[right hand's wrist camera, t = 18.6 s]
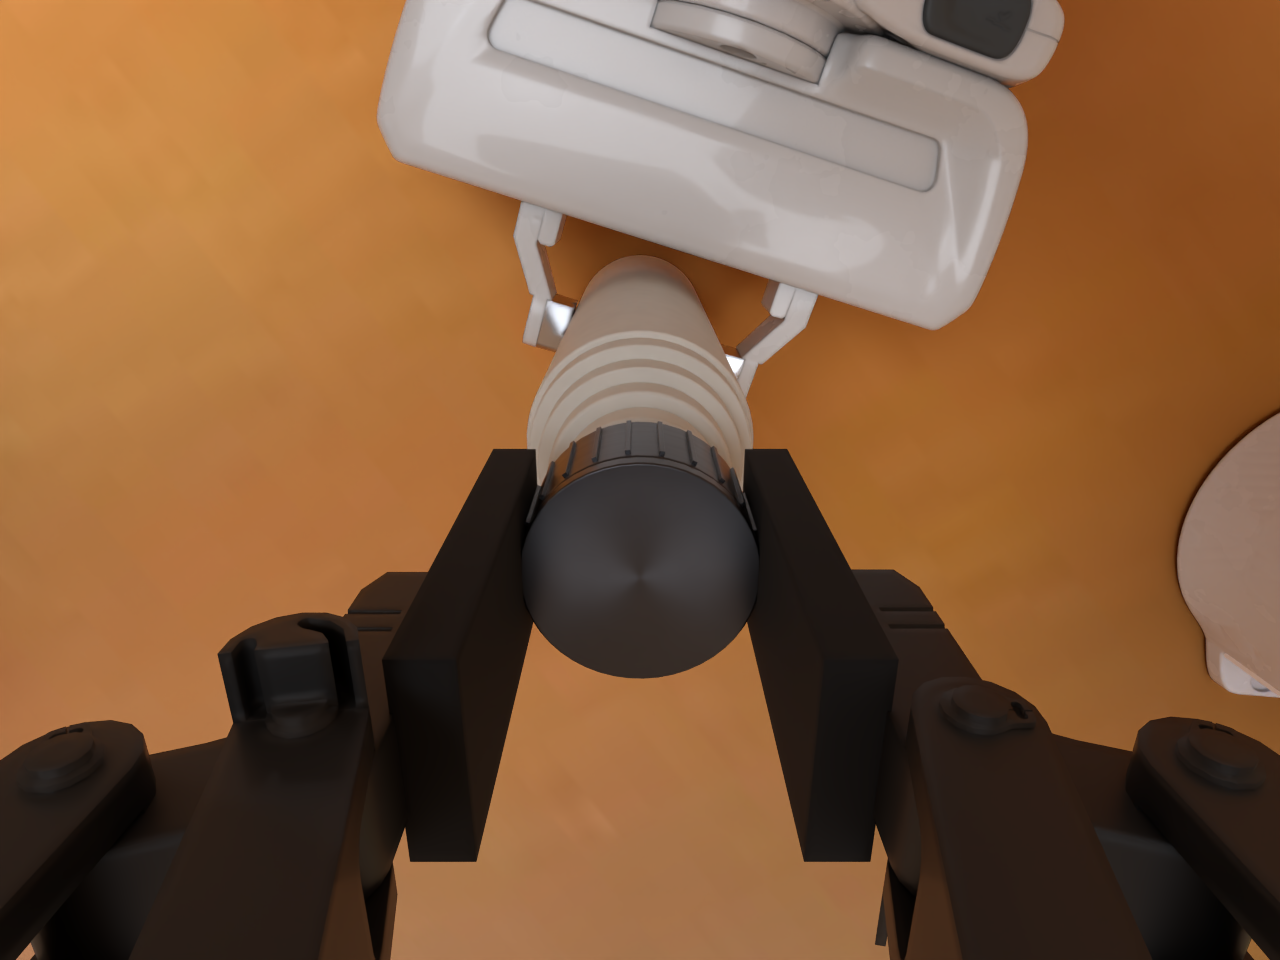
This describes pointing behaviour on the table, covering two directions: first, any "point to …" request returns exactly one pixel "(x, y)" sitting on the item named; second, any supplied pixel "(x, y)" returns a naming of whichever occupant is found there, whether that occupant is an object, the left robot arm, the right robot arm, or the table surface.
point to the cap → (640, 552)
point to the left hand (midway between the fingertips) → (634, 373)
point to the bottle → (640, 366)
